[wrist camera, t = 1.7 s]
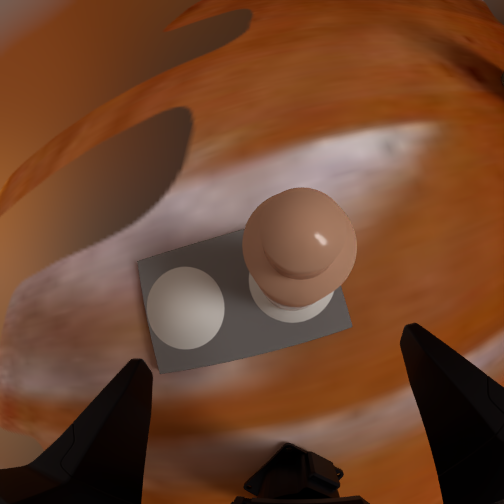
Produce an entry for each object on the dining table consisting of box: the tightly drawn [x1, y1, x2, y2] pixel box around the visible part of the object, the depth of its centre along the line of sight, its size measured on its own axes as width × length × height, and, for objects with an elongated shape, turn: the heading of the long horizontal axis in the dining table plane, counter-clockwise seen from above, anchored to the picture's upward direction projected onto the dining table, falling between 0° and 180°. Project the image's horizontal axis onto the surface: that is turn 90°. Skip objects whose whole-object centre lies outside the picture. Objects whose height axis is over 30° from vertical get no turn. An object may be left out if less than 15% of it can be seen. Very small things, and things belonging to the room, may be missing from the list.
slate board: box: [137, 229, 352, 374], centre depth 22 cm, size 16×10×1 cm, turn 105°
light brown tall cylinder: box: [242, 188, 357, 311], centre depth 16 cm, size 5×5×12 cm
